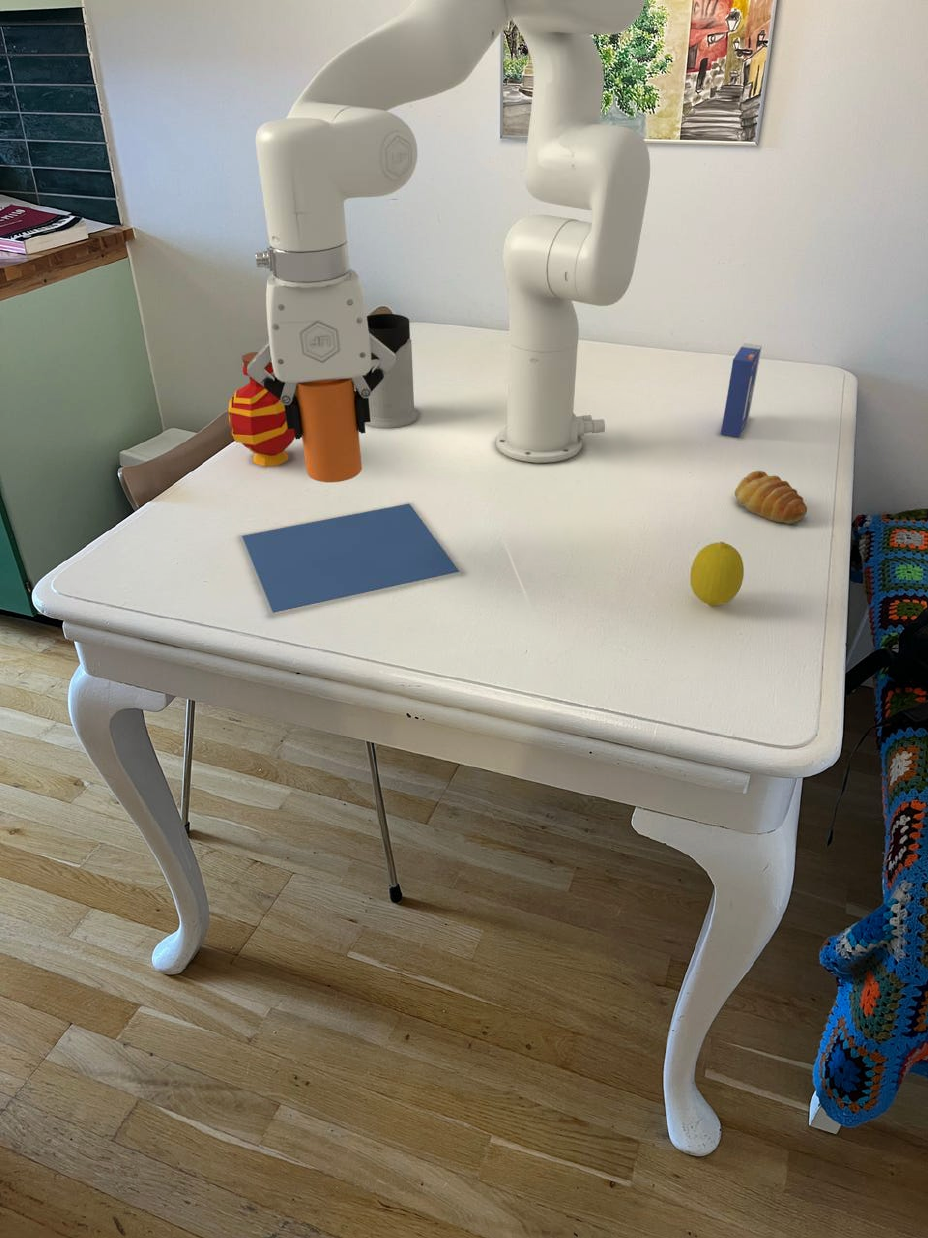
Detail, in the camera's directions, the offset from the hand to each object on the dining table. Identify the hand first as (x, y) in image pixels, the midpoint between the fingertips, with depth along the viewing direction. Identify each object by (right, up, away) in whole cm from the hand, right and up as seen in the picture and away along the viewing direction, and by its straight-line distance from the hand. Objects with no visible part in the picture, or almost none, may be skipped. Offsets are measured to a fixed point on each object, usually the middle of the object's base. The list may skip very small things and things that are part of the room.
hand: (329, 429), depth 101 cm
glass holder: (0, +11, +45) cm, 46 cm away
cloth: (+1, -13, +10) cm, 17 cm away
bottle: (0, -4, +3) cm, 5 cm away
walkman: (+56, +9, +40) cm, 70 cm away
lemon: (+42, -19, +1) cm, 46 cm away
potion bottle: (-13, +2, +32) cm, 35 cm away
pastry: (+54, -6, +19) cm, 58 cm away
